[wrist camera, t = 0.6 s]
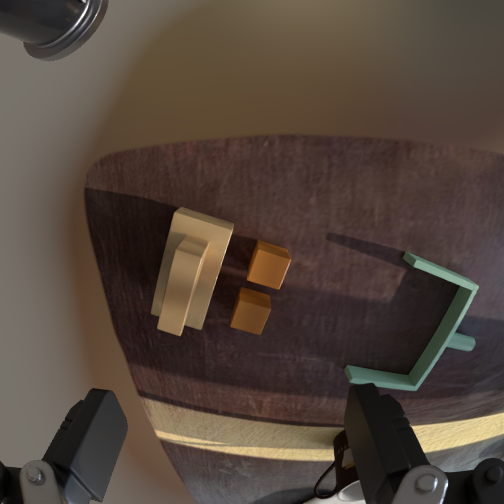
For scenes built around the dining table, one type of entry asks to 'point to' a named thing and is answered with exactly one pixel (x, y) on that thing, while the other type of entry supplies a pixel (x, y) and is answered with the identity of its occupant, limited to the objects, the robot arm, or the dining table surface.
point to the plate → (331, 501)
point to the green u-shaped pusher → (439, 341)
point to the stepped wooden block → (189, 269)
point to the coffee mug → (343, 473)
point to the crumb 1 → (268, 265)
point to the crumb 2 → (250, 311)
